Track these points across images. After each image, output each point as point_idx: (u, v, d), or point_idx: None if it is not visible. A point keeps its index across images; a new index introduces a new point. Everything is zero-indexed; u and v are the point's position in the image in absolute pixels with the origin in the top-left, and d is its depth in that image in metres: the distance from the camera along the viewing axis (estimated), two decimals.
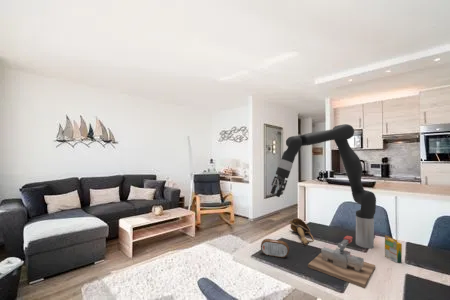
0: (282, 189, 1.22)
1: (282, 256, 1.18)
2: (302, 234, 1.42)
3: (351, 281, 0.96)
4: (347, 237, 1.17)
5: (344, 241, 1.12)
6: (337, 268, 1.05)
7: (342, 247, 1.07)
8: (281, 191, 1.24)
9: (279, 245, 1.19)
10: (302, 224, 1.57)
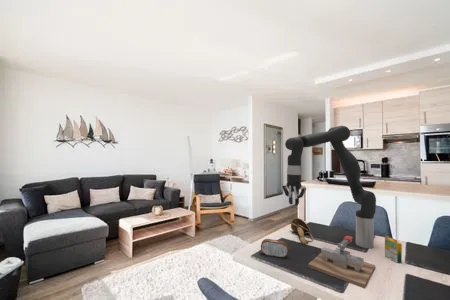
0: None
1: (282, 256, 1.18)
2: (301, 234, 1.43)
3: (351, 281, 0.96)
4: (347, 237, 1.17)
5: (344, 241, 1.12)
6: (337, 268, 1.05)
7: (342, 247, 1.07)
8: None
9: (279, 245, 1.19)
10: (302, 224, 1.57)
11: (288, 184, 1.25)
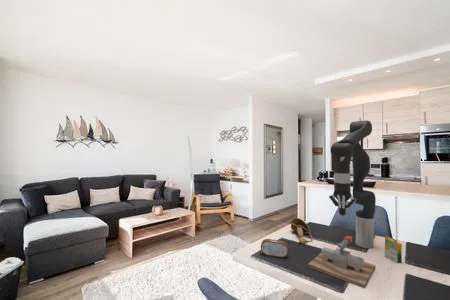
0: (349, 206, 1.13)
1: (282, 256, 1.18)
2: (301, 234, 1.43)
3: (351, 281, 0.96)
4: (347, 237, 1.17)
5: (344, 241, 1.12)
6: (337, 268, 1.05)
7: (342, 247, 1.07)
8: None
9: (279, 245, 1.19)
10: (302, 224, 1.56)
11: (335, 193, 1.17)
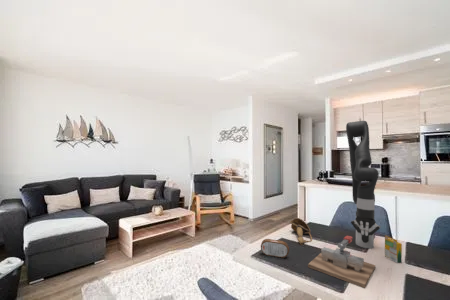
0: (372, 234, 1.09)
1: (282, 256, 1.18)
2: (300, 234, 1.43)
3: (351, 281, 0.96)
4: (347, 237, 1.17)
5: (344, 241, 1.12)
6: (337, 268, 1.05)
7: (342, 247, 1.07)
8: None
9: (279, 245, 1.19)
10: (303, 224, 1.56)
11: (358, 219, 1.13)
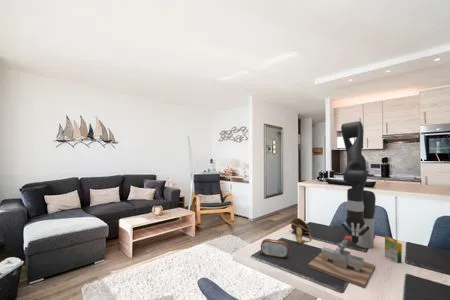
0: None
1: (282, 256, 1.18)
2: (299, 234, 1.43)
3: (351, 281, 0.96)
4: (347, 237, 1.17)
5: (344, 241, 1.12)
6: (337, 268, 1.05)
7: (342, 247, 1.07)
8: None
9: (279, 245, 1.19)
10: (303, 224, 1.56)
11: (348, 220, 1.15)
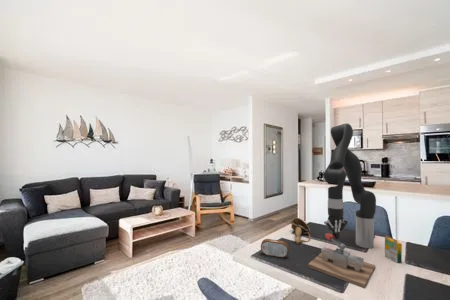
0: None
1: (282, 256, 1.18)
2: (297, 234, 1.43)
3: (351, 281, 0.96)
4: (329, 235, 1.19)
5: (336, 240, 1.13)
6: (337, 268, 1.05)
7: (344, 247, 1.08)
8: None
9: (279, 245, 1.19)
10: (303, 224, 1.56)
11: (332, 219, 1.18)
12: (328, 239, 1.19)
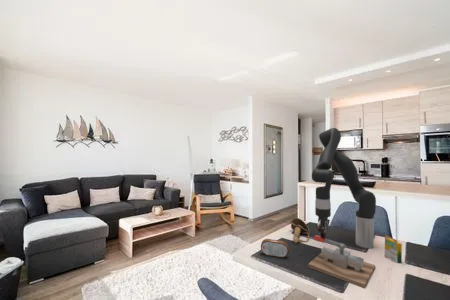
0: None
1: (282, 256, 1.18)
2: (296, 233, 1.43)
3: (351, 281, 0.96)
4: (320, 237, 1.17)
5: (331, 241, 1.12)
6: (337, 268, 1.05)
7: None
8: None
9: (279, 245, 1.19)
10: (303, 224, 1.56)
11: (323, 220, 1.16)
12: (320, 241, 1.16)
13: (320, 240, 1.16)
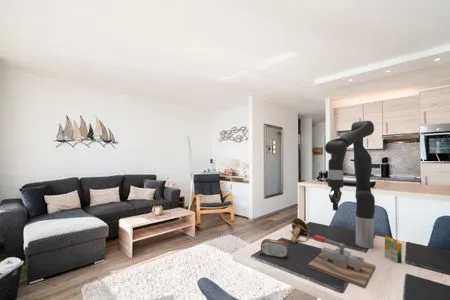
0: None
1: (282, 256, 1.18)
2: (295, 233, 1.44)
3: (351, 281, 0.96)
4: (320, 237, 1.17)
5: (331, 241, 1.12)
6: (337, 268, 1.05)
7: None
8: None
9: (279, 245, 1.19)
10: (303, 225, 1.55)
11: (335, 190, 1.18)
12: (320, 241, 1.16)
13: (320, 240, 1.16)
